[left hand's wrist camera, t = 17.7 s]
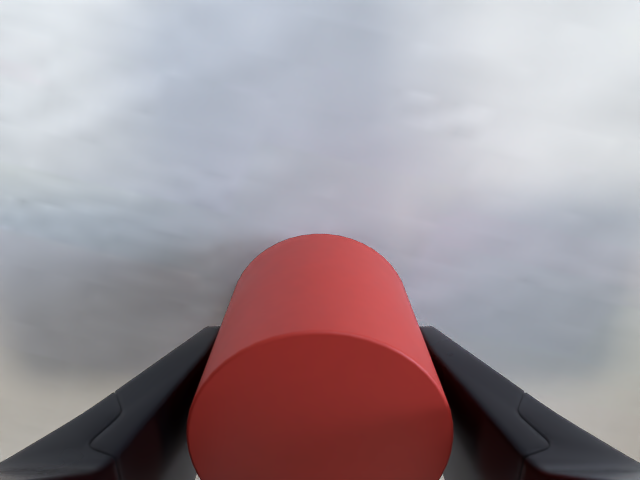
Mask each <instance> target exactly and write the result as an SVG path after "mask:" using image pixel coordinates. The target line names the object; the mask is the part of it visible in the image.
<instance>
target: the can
mask: <svg viewBox="0 0 640 480" xmlns="http://www.w3.org/2000/svg"><path fill="white" fill-rule="evenodd" d="M186 437H187V445H188V451H189V455H190V458H191V461H192V464H193V466H194V468H195V470H196V472H197V474H198V476H199V478H200V479H201V480H439V479H440V477H441V476H442V474H443V472H444V470H445V468H446V466H447V463H448V460H449V457H450V454H451V450H452V443H453V420H452V414H451V409H450V407H449V404H448V402H447V399H446V396H445V394H444V391H443V388H442V386H441V383H440V381H439V378H438V375H437V373H436V370H435V367H434V365H433V362H432V360H431V357H430V354H429V352H428V349H427V346H426V344H425V341H424V339H423V336H422V333H421V331H420V328H419V325H418V323H417V320H416V318H415V315H414V312H413V310H412V307H411V304H410V302H409V299H408V297H407V294H406V291H405V289H404V286H403V283H402V281H401V279H400V278H399V276H398V274H397V272H396V271H395V270H394V268H393V267H392V266H391V265H390V263H389V262H388V261H387V260H386V259H385V258H384V257H383V256H381V255H380V254H379V253H377V252H376V251H375V250H373V249H372V248H370V247H368V246H366V245H364V244H363V243H360V242H358V241H355V240H353V239H350V238H346V237H342V236H338V235H330V234H310V235H301V236H297V237H293V238H289V239H287V240H284V241H282V242H279V243H277V244H275V245H273V246H271V247H270V248H268V249H266V250H265V251H264V252H262V253H261V254H259V255H258V256H257V257H256V258H255V259H254V260H253V261H252V262H251V263H250V264H249V265H248V267H247V268H246V269H245V270H244V272H243V273H242V275H241V277H240V278H239V280H238V282H237V285H236V287H235V290H234V292H233V295H232V298H231V300H230V303H229V306H228V308H227V311H226V314H225V316H224V319H223V322H222V324H221V327H220V330H219V332H218V335H217V338H216V340H215V343H214V345H213V348H212V351H211V353H210V356H209V359H208V361H207V364H206V367H205V369H204V372H203V375H202V377H201V380H200V383H199V385H198V388H197V391H196V393H195V396H194V399H193V401H192V404H191V406H190V409H189V414H188V419H187V430H186Z"/></svg>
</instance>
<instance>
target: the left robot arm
mask: <svg viewBox="0 0 640 480" xmlns="http://www.w3.org/2000/svg"><path fill="white" fill-rule="evenodd" d="M419 328H420V331H421V333H422V336H423V339H424V341H425V344H426V346H427V349H428V352H429V354H430V357H431V360H432V362H433V365H434V367H435V370H436V373H437V375H438V378H439V381H440V383H441V386H442V388H443V391H444V394H445V396H446V399H447V402H448V404H449V407H450V409H451V414H452V420H453V443H452V450H451V454H450V457H449V460H448V463H447V466H446V468H445V470H444V472H443V476H444V479H445V480H640V463H639V462H637V461H635V460H633V459H632V458H630V457H628V456H626V455H625V454H623V453H621V452H620V451H618V450H616V449H615V448H613V447H611V446H610V445H608V444H606V443H605V442H603V441H601V440H600V439H598V438H596V437H595V436H593V435H591V434H590V433H588V432H586V431H585V430H583V429H581V428H579V427H578V426H576V425H575V424H573V423H571V422H570V421H568V420H566V419H565V418H563V417H562V416H560V415H558V414H557V413H555V412H554V411H552V410H551V409H549V408H548V407H546V406H545V405H543V404H542V403H540V402H539V401H537V400H536V399H535V398H533V397H532V396H530V395H529V394H528V393H524V391H523V390H522V389H520V388H519V387H518V386H516V385H515V384H513V383H512V382H510V381H509V380H508V379H506V378H505V377H503V376H502V375H501V374H499V373H498V372H496V371H495V370H493V369H492V368H491V367H489V366H488V365H486V364H485V363H484V362H482V361H481V360H479V359H478V358H476V357H475V356H474V355H472V354H471V353H469V352H468V351H467V350H465V349H464V348H462V347H461V346H459V345H458V344H457V343H455V342H454V341H452V340H451V339H450V338H448V337H447V336H445V335H444V334H442V333H441V332H440V331H438V330H437V329H435V328H434V327H431V326H420V327H419ZM219 330H220V326H208V327H206V328H204V329H203V330H201V331H200V332H199V333H197V334H196V335H194V336H193V337H191V338H190V339H189V340H187V341H186V342H184V343H183V344H182V345H180V346H179V347H177V348H176V349H174V350H173V351H172V352H170V353H169V354H167V355H166V356H164V357H163V358H162V359H160V360H159V361H157V362H156V363H155V364H153V365H152V366H150V367H149V368H147V369H146V370H145V371H143V372H142V373H140V374H139V375H138V376H136V377H135V378H133V379H132V380H130V381H129V382H128V383H126V384H125V385H123V386H122V387H120V388H119V389H118V390H116V391H115V393H112V394H110V395H109V396H108V397H106V398H105V399H103V400H102V401H100V402H99V403H97V404H96V405H95V406H93V407H92V408H90V409H89V410H87V411H86V412H84V413H83V414H81V415H79V416H78V417H76V418H75V419H73V420H71V421H70V422H68V423H66V424H65V425H63V426H62V427H60V428H58V429H57V430H55V431H53V432H51V433H50V434H48V435H46V436H45V437H43V438H41V439H40V440H38V441H36V442H35V443H33V444H31V445H30V446H28V447H26V448H25V449H23V450H21V451H20V452H18V453H16V454H15V455H13V456H11V457H9V458H8V459H6V460H4V461H2V462H0V480H195V478H196V474H197V472H196V470H195V468H194V466H193V464H192V461H191V458H190V455H189V451H188V445H187V437H186V430H187V419H188V414H189V409H190V406H191V404H192V401H193V399H194V396H195V393H196V391H197V388H198V385H199V383H200V380H201V377H202V375H203V372H204V369H205V367H206V364H207V361H208V359H209V356H210V353H211V351H212V348H213V345H214V343H215V340H216V338H217V335H218V332H219Z"/></svg>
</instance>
